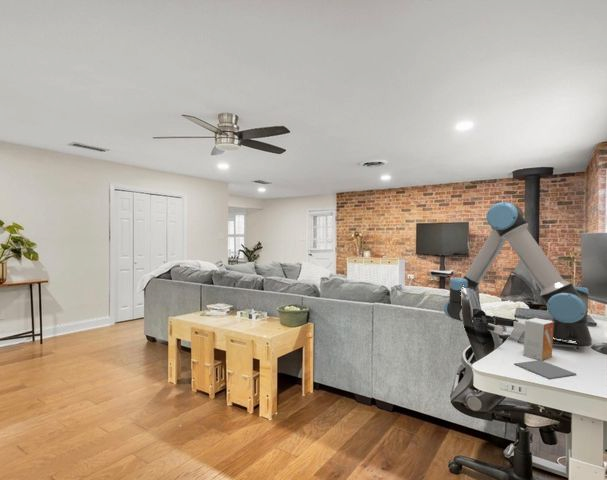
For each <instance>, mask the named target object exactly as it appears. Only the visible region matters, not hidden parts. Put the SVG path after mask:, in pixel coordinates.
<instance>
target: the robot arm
mask: <svg viewBox="0 0 607 480" xmlns="http://www.w3.org/2000/svg"><path fill="white" fill-rule="evenodd" d="M486 222H487V223H488V225H489V226H490V229H491V231H490V233H489V235H488V237H487V238H486V239H485V242H484V243H483V245H482V247H481V248H480V250H479V251H478V253H477V255H476V256H475V258H474V259H473V261H472V263H471V264H470V266H469V268H468V270H466V273H465V274H464V276H463V277H462V278H461V277H452V278H451V279H450V282H449V301H448V302H446V303H445V304H444V307H443V313H444V315H446V316H447V317H449V318H451V319H452V320H456V321H460V322H462V323H464V322H463V317H462V306H461V296H460V295H461V292H460V291H461V288H462V287H464V288H470V289H473V290H474V291H476V292H477V290H478V286H479V285H480V283H481V281H482V279H483V278H484V276H485V275H486V274H487V272H488V271H489V268H491V266H492V265H493V263H494V261H495V260H496V257H497V256H498V255H499V253H500V252H501V250H502V249H503V247H504V246H505V244H506V242H508V244H509V245H510V247H511V248H512V249H513V251H514V252H515V253H516V256H517V257H518V258H519V260H520V261H521V263H522V264H523V265H524V267H525V268H526V269H527V271H528V273H529V274H530V276H531V277H532V279H533V280H534V281H535V283H536V284H537V286H538V287H539V289H540V293H539V296H540V298H541V299H542V300H543V302H544V304H545V305H546V309H547V311H548V314H549V315H550V316H551V317H552V320H551V321H552V322H554V327H553V337H554V338H557V339H563V340H572V341H576V343H577V345H576V346H590V345H592V342H593V341H592V340H593V339H592V336H591V332H590V330H589V326H588V313H589V312H588V310H589V296H590V293H589V289H588V288H587V287H585V286H584V287H583V286H576V285H573V283H572V282H571V281H567V280H564V278H563V277H562V276H561V275H560V273H559V271H557V269H556V267H555V266H554V265H553V264H552V262H551V261H550V259H549V257H548V256H547V255H546V253H545V252H544V251H543V249H542V248H541V247H540V246H539V243H538V242H537V241H536V240H535V238H534V237H533V235H532V234H531V232H530V231H529V230H528V227H529V223H528V221H527V220H526V219H525V216H524V212H523V210H522V208H520V207H519V206H517V205H516V204H513V203H511V202H507V201H502V202H498V203H494V204H493V205H492V206H490V208H489V209H488V210H487V212H486ZM463 285H464V286H463ZM462 289H463V288H462ZM473 308H474V309H473V317H472V323H473V325H474V327H476V328H477V329H478V330H480V331H481V330H483V332H487V331H489V332H493V333H495V334H498V335H502V336H503V335H504V327H511V328H514V329H516V330H520V331H522V332H525V323H522V322H519V320H518V319H516V318H514V319H512V318H508V317H507V318H506V317H500V316H497V315H493V316H491V315H487V314H486V312H485V311H484V310H482V309H480V308H479V309H478V308H476V307H473ZM473 325H472V326H473ZM503 326H504V327H503Z"/></svg>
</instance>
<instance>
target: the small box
mask: <svg viewBox="0 0 607 480" xmlns="http://www.w3.org/2000/svg"><path fill="white" fill-rule="evenodd" d="M524 324H525V331H524V338H523V339H524V341H523V342H524V343H523V344H524V345H523V354H522V355H523V356H525V357H529V358H532V359H535V360H542V361H544V360H546V359H550V358H552V356H553V343H554V340H553V327H554V322H552V320H547V319H542V318H538V317H534V318H529V319H527V320H525V321H524Z"/></svg>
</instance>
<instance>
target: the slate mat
mask: <svg viewBox="0 0 607 480" xmlns="http://www.w3.org/2000/svg"><path fill="white" fill-rule="evenodd" d="M514 365H515V366H517V367H519V368H521V369H524V370H526V371H529V372H531V373H534V374H536V375H538V376H540V375H541V377H542V378H545V377H546V379H547V378H548V380H554V379H560V378H566V377H572V376H577V373H575V372H573V371H570V370H567V369H565V368H562V367H560V366H557V365H554V364H552V363H550V362H546V361H544V360H538V359H536V360H532V361H523V362H522V361H521V362H515V363H514ZM553 378H554V379H553Z"/></svg>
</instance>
